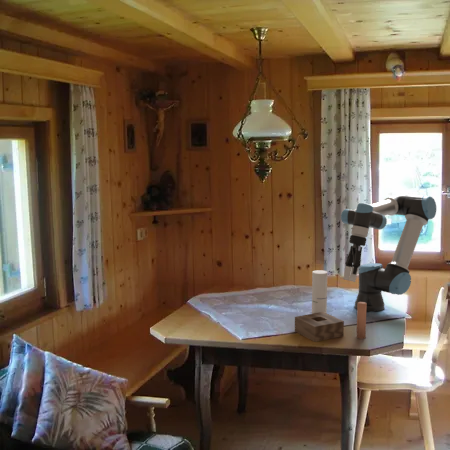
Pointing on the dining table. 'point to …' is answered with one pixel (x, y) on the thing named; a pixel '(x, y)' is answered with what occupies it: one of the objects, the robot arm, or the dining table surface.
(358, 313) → the peg
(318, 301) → the cylindrical container
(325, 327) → the socket block
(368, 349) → the dining table surface
